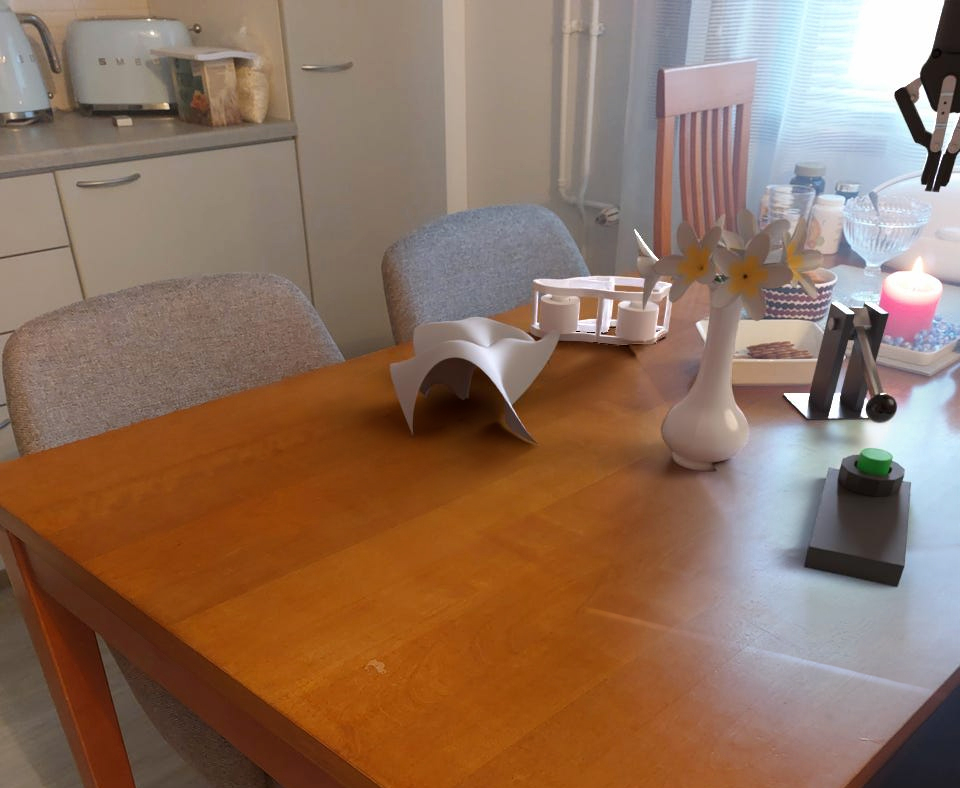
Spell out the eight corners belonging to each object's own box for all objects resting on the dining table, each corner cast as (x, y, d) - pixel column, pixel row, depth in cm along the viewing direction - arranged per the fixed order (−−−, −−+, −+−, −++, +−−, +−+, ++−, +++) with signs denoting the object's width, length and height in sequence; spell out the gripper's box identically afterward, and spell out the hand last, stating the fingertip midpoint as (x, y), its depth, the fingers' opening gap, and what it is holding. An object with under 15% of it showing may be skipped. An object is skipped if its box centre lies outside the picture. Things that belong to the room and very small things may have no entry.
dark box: (824, 483, 97) (833, 448, 95) (905, 498, 95) (916, 462, 92) (803, 567, 83) (813, 528, 81) (897, 587, 81) (910, 547, 78)
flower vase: (602, 436, 106) (627, 199, 91) (760, 437, 107) (810, 202, 92) (620, 488, 95) (652, 228, 81) (796, 488, 96) (859, 231, 81)
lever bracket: (885, 426, 110) (918, 318, 103) (805, 428, 109) (832, 318, 102) (857, 401, 117) (885, 297, 109) (781, 402, 116) (804, 298, 108)
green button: (857, 461, 93) (861, 445, 92) (888, 467, 92) (893, 451, 91) (855, 473, 91) (859, 456, 90) (887, 479, 90) (892, 462, 89)
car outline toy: (524, 342, 133) (527, 289, 128) (536, 320, 141) (539, 270, 137) (664, 355, 129) (672, 301, 125) (668, 331, 138) (675, 280, 134)
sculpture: (419, 361, 125) (418, 286, 119) (559, 369, 123) (564, 294, 118) (381, 434, 105) (378, 349, 99) (548, 445, 103) (554, 359, 98)
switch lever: (891, 428, 103) (905, 410, 100) (864, 429, 102) (877, 411, 99) (859, 324, 109) (872, 304, 106) (833, 324, 108) (845, 304, 105)
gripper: (913, -8, 88) (865, 190, 98) (1067, -4, 84) (1000, 203, 94) (915, -8, 94) (869, 179, 104) (1059, -4, 90) (997, 191, 100)
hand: (932, 190), depth 99 cm, fingers closed
